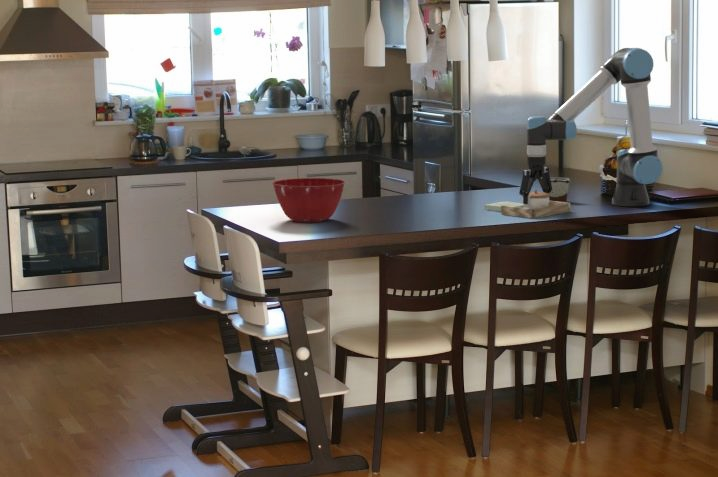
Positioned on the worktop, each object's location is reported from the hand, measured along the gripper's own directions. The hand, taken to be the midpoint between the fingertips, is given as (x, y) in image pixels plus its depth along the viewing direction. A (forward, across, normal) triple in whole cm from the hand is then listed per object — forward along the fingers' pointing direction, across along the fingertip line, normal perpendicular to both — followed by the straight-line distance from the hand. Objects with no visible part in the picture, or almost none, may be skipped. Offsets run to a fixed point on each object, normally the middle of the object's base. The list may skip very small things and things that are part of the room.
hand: (535, 210), depth 464 cm
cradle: (+1, 0, 0) cm, 1 cm away
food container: (+1, -31, -14) cm, 34 cm away
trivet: (+1, 0, -15) cm, 15 cm away
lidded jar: (+1, 0, 0) cm, 1 cm away
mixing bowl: (+1, +72, -55) cm, 91 cm away
